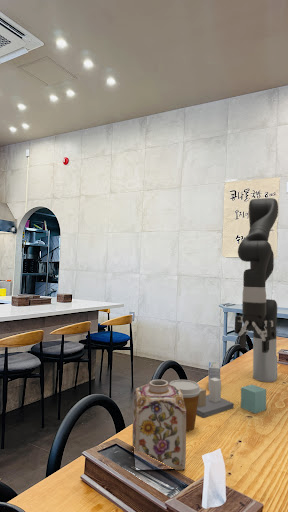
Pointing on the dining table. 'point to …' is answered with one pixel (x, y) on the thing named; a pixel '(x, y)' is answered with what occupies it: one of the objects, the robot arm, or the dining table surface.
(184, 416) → the decorative jar
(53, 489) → the dining table surface
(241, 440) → the dining table surface
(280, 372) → the dining table surface
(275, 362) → the robot arm
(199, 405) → the post stand
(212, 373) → the medicine box
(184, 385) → the disposable coffee cup
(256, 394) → the sage green cube
